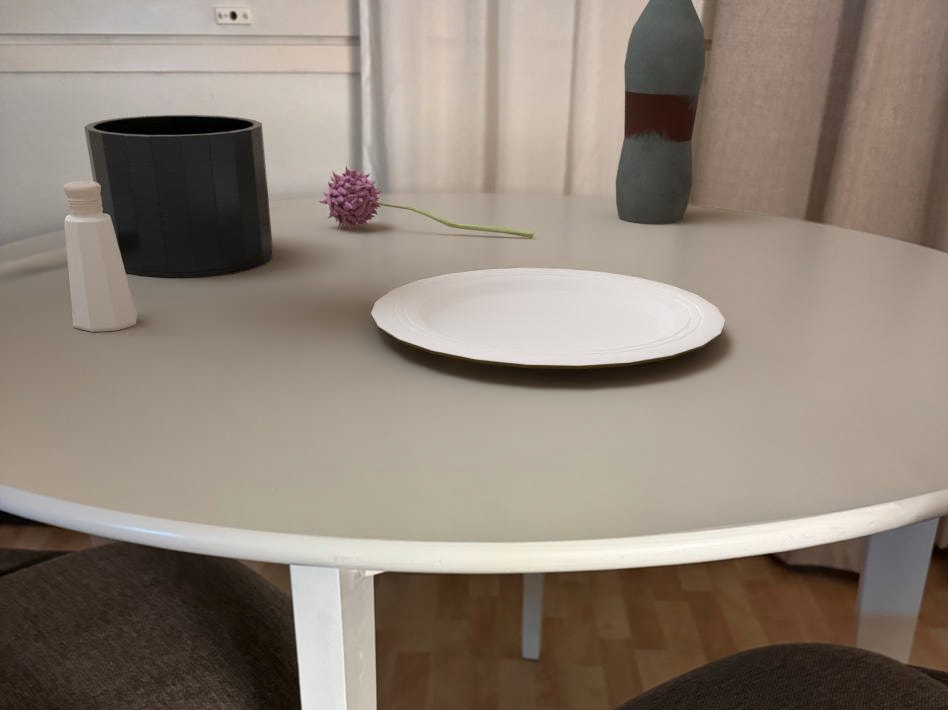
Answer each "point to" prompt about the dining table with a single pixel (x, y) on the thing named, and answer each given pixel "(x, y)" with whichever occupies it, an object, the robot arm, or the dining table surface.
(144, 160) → the trash can
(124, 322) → the salt shaker
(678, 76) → the bottle
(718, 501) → the dining table surface
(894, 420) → the dining table surface
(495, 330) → the plate
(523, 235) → the artificial flower
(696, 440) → the dining table surface
